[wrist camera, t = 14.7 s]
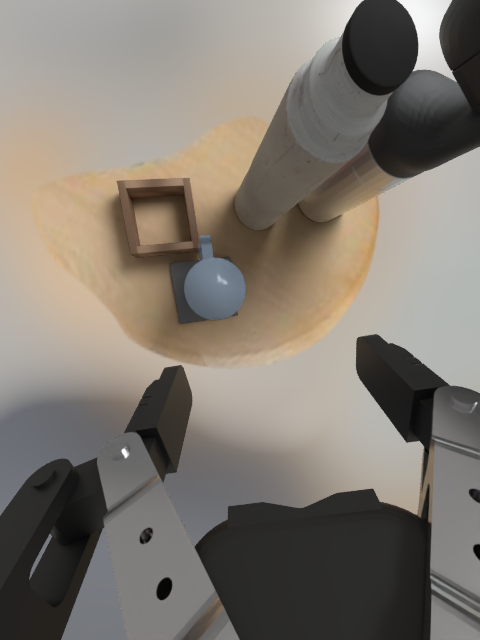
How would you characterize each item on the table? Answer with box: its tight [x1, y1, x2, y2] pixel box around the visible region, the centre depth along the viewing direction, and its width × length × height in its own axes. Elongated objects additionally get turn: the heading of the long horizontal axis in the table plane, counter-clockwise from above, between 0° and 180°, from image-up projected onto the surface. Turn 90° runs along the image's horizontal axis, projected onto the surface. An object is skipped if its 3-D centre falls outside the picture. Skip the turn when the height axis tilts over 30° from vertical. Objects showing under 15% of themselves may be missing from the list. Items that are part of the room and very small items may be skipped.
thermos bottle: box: [235, 0, 418, 230], centre depth 28 cm, size 8×8×28 cm
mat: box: [169, 257, 238, 324], centre depth 41 cm, size 10×10×1 cm
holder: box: [117, 178, 199, 258], centre depth 37 cm, size 10×10×4 cm
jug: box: [184, 235, 246, 320], centre depth 33 cm, size 6×9×16 cm
